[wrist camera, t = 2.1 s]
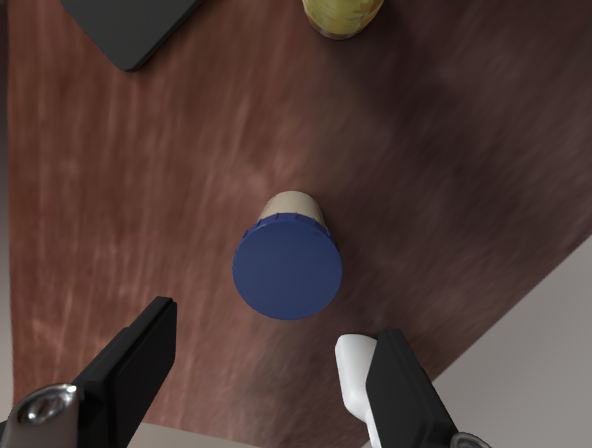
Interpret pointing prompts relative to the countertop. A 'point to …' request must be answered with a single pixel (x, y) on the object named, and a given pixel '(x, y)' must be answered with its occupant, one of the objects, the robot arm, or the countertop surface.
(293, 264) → the jar lid
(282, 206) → the mayonnaise jar
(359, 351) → the eye dropper bottle
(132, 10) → the phone
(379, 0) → the sauce bottle
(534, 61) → the countertop surface
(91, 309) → the countertop surface
